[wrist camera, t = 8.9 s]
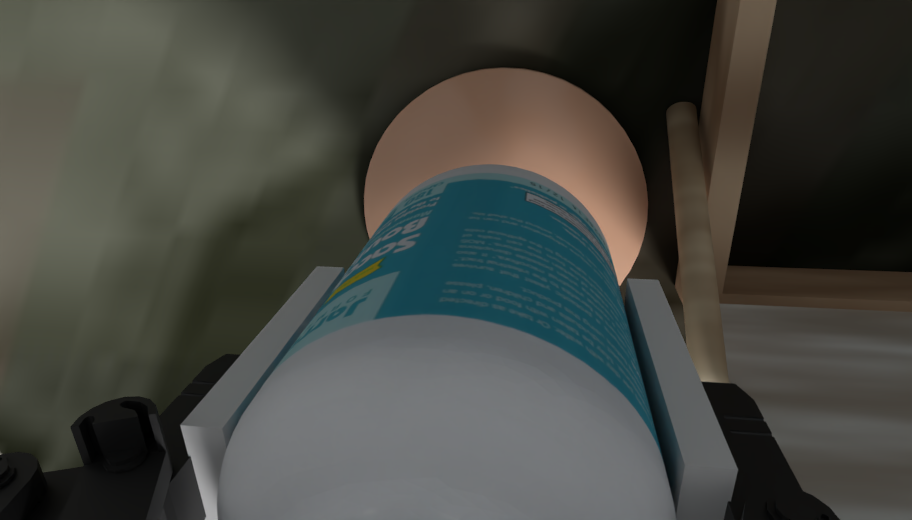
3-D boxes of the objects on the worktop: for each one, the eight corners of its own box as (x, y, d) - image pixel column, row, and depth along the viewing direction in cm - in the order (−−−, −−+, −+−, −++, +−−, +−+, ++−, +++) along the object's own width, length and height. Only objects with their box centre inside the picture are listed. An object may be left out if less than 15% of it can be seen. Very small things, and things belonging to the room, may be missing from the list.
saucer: (356, 68, 22) (351, 69, 21) (662, 65, 20) (665, 67, 20) (378, 324, 26) (374, 330, 26) (630, 337, 25) (632, 345, 24)
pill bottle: (417, 120, 17) (79, 429, 5) (654, 210, 17) (950, 749, 5) (351, 325, 20) (49, 837, 8) (552, 401, 20) (569, 1021, 8)
